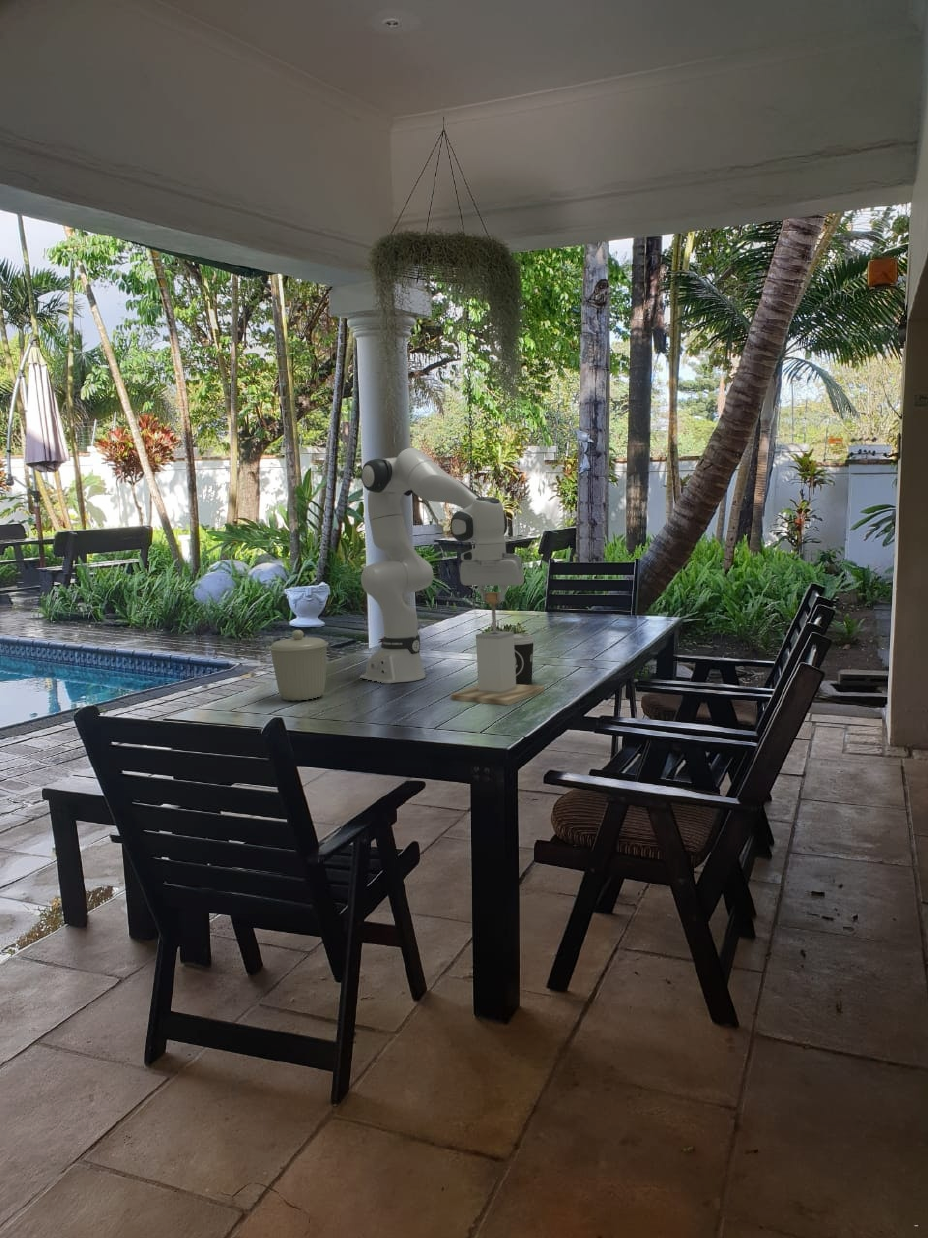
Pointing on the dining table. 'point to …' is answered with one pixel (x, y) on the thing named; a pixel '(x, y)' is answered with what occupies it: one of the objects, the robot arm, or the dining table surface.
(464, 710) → the dining table surface
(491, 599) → the plunger
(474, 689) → the board
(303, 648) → the canister
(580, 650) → the dining table surface
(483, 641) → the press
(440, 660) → the dining table surface
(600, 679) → the dining table surface
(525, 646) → the coffee cup
